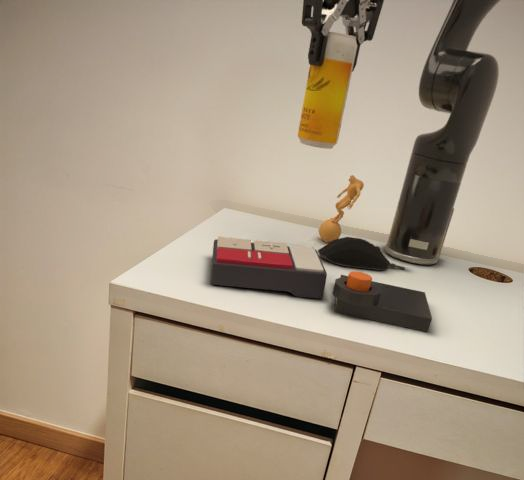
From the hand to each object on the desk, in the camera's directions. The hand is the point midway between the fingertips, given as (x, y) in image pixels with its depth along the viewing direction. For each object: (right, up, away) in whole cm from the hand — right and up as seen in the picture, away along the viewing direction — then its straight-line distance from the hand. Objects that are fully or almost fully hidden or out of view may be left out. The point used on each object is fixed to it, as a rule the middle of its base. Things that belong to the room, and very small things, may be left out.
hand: (331, 68), depth 84 cm
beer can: (-2, -10, +5) cm, 11 cm away
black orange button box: (+6, -35, -5) cm, 36 cm away
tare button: (+2, -32, -9) cm, 34 cm away
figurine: (+3, -21, +21) cm, 30 cm away
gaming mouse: (+6, -26, +12) cm, 30 cm away
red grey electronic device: (-10, -31, -2) cm, 32 cm away
